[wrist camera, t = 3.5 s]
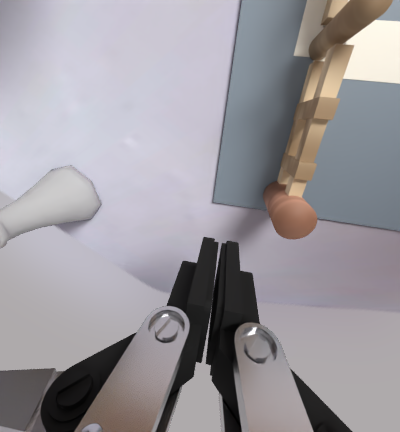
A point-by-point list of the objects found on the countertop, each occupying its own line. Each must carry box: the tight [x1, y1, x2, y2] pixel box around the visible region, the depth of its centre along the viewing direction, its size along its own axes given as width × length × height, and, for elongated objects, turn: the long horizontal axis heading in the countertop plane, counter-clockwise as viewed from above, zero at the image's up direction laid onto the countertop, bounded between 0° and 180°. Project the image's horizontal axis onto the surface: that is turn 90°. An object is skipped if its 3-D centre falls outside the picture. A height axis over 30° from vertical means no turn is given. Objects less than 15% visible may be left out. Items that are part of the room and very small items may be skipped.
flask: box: [0, 165, 101, 248], centre depth 20 cm, size 7×7×10 cm
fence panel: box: [263, 44, 354, 239], centre depth 15 cm, size 12×3×6 cm, turn 174°
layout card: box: [213, 0, 400, 231], centre depth 15 cm, size 28×21×1 cm
